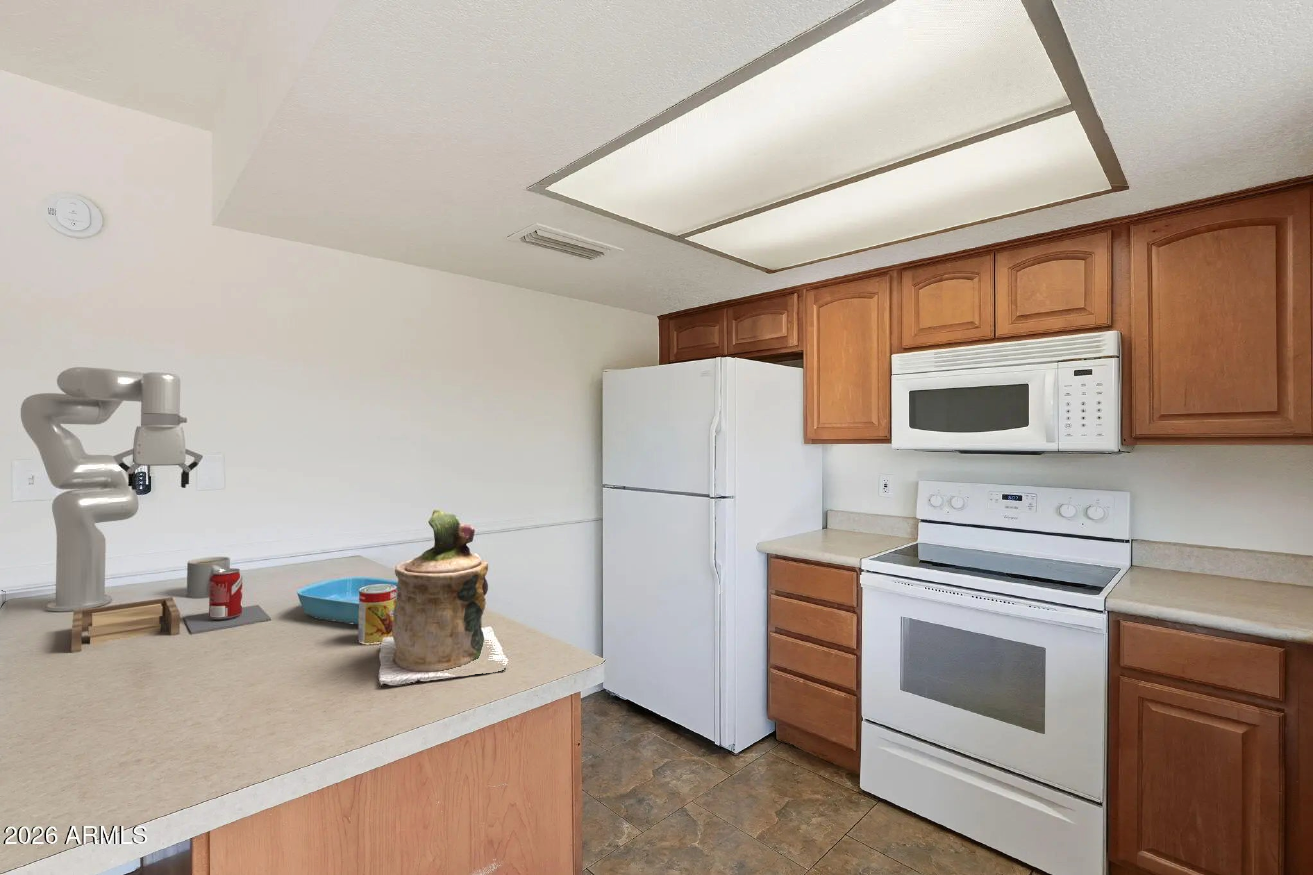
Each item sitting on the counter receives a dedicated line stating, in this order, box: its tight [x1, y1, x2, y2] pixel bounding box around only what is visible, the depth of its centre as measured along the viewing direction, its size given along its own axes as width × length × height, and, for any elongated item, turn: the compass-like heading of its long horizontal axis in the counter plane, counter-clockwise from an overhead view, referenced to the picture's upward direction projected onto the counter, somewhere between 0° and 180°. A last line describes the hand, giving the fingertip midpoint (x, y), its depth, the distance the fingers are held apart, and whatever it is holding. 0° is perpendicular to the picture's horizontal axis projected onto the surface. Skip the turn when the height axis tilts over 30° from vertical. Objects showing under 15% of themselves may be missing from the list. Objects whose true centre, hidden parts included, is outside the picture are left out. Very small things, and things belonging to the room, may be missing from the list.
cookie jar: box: [378, 508, 509, 686], centre depth 125 cm, size 25×25×32 cm
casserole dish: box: [296, 576, 398, 625], centre depth 155 cm, size 37×22×7 cm, turn 72°
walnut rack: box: [70, 596, 181, 653], centre depth 137 cm, size 18×18×5 cm
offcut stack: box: [87, 604, 162, 645], centre depth 135 cm, size 4×13×6 cm, turn 135°
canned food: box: [357, 584, 396, 643], centre depth 136 cm, size 8×8×12 cm
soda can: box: [208, 567, 244, 621], centre depth 148 cm, size 7×7×12 cm
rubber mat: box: [183, 604, 272, 635], centre depth 148 cm, size 16×16×1 cm
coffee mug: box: [186, 556, 231, 599], centre depth 171 cm, size 13×10×10 cm
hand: (159, 488), depth 148 cm, fingers open, 9 cm apart
